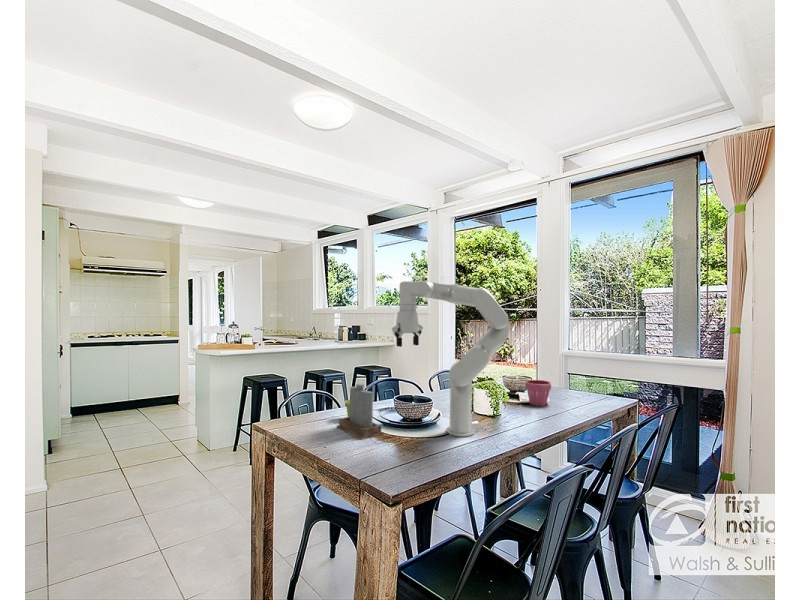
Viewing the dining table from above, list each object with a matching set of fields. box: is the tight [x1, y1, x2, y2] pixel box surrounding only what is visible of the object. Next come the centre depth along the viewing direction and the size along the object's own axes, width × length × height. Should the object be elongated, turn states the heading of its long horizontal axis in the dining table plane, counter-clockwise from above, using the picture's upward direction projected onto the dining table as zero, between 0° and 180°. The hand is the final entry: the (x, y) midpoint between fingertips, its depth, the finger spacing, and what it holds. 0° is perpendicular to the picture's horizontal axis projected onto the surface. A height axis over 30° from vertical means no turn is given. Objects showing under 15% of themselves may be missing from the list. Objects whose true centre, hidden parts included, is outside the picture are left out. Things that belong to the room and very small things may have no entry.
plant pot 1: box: [344, 399, 350, 417], centre depth 209 cm, size 9×9×9 cm
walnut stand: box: [336, 416, 384, 440], centre depth 190 cm, size 12×20×4 cm, turn 37°
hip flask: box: [349, 383, 374, 429], centre depth 190 cm, size 16×4×20 cm, turn 38°
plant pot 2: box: [524, 379, 552, 407], centre depth 245 cm, size 14×14×13 cm
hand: (407, 345), depth 195 cm, fingers open, 9 cm apart
